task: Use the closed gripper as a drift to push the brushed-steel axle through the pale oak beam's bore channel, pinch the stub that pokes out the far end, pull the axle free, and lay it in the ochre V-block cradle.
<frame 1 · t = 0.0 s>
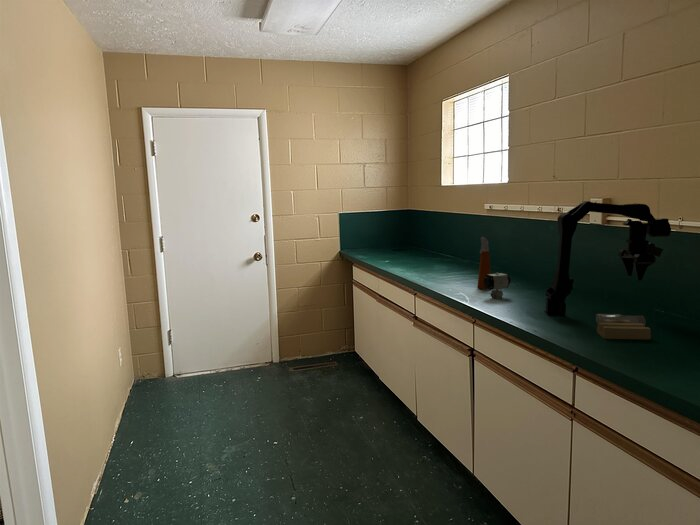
hand: (634, 278, 182), 15 cm above the worktop, fingers open, 9 cm apart
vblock: (622, 335, 160), on the worktop
axle: (621, 321, 171), point 2 cm above the worktop
spray bottle: (483, 289, 240), on the worktop
bore beam: (612, 325, 172), on the worktop
pneumatic valve: (497, 298, 219), on the worktop
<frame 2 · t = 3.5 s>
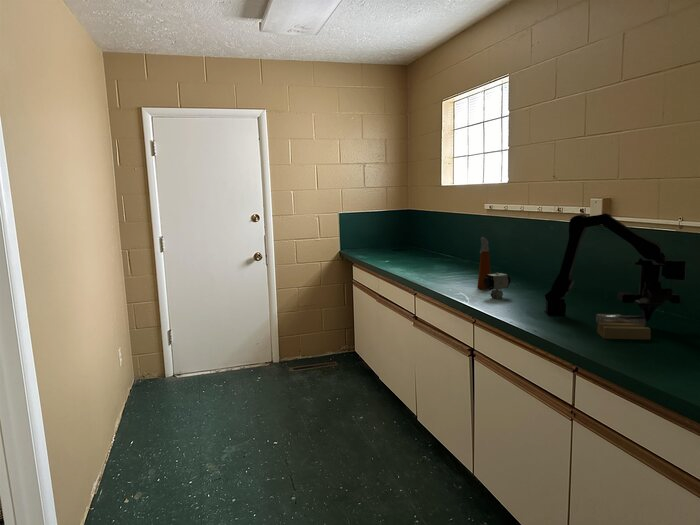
hand: (646, 321, 170), 2 cm above the worktop, fingers closed
axle: (621, 321, 171), point 2 cm above the worktop, tilted 12°, touching gripper
everything else where it was.
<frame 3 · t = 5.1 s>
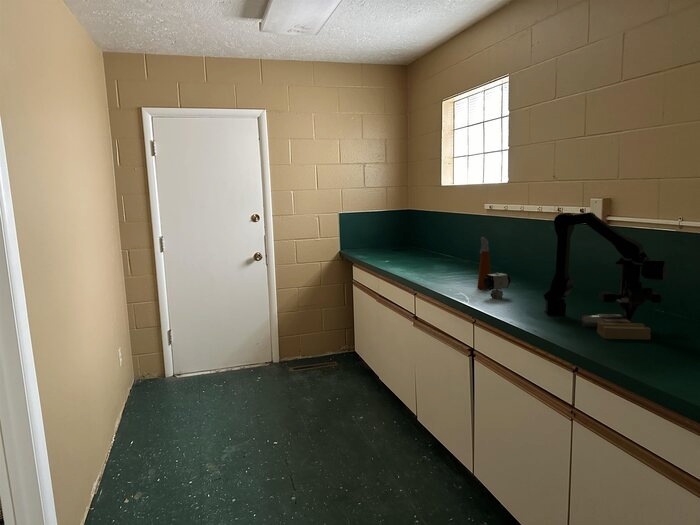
hand: (628, 320, 171), 2 cm above the worktop, fingers closed
axle: (603, 321, 172), point 2 cm above the worktop, tilted 14°
everything else where it was.
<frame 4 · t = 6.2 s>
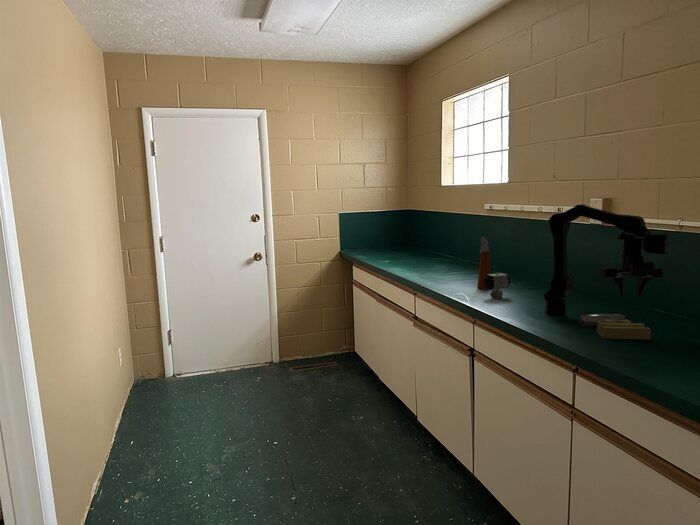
hand: (629, 295, 170), 11 cm above the worktop, fingers open, 5 cm apart
nothing on the worktop moved.
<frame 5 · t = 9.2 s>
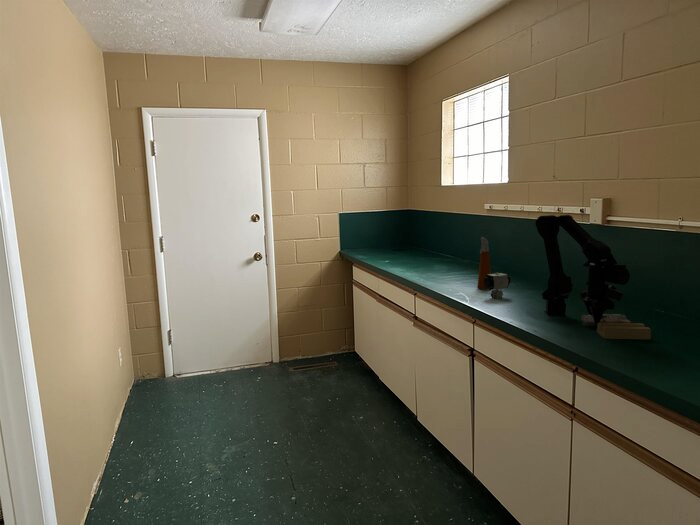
hand: (594, 322, 173), 1 cm above the worktop, fingers closed on axle, 4 cm apart
axle: (603, 320, 172), point 2 cm above the worktop, touching gripper
everything else where it was.
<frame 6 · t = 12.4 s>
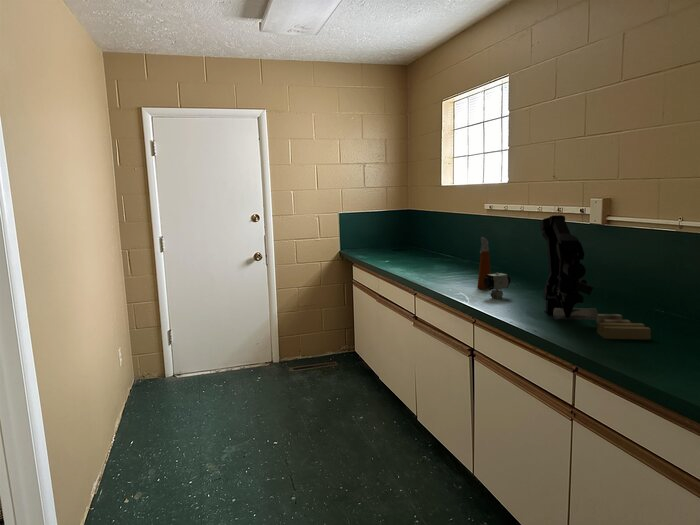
hand: (565, 316, 174), 3 cm above the worktop, fingers closed on axle, 4 cm apart
axle: (575, 313, 173), point 4 cm above the worktop, touching gripper
everything else where it was.
when the fingers open (5 cm above the worktop, at t = 15.8 s): axle drops 2 cm, resting on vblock.
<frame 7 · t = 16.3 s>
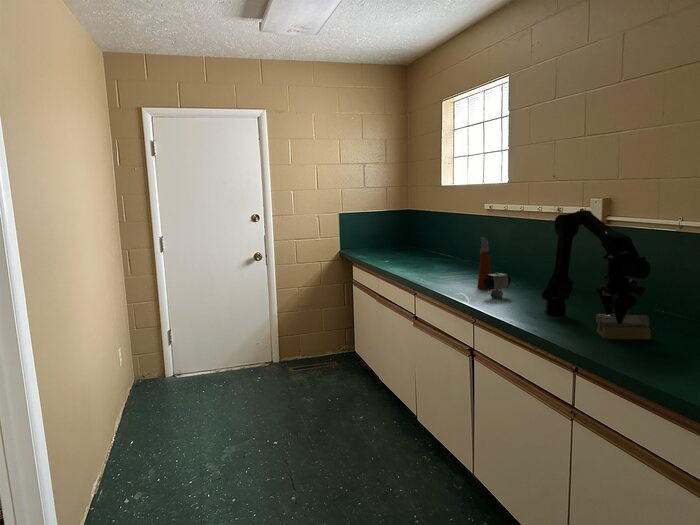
hand: (614, 319, 160), 5 cm above the worktop, fingers open, 9 cm apart
axle: (623, 321, 160), point 5 cm above the worktop, touching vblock
everything else where it was.
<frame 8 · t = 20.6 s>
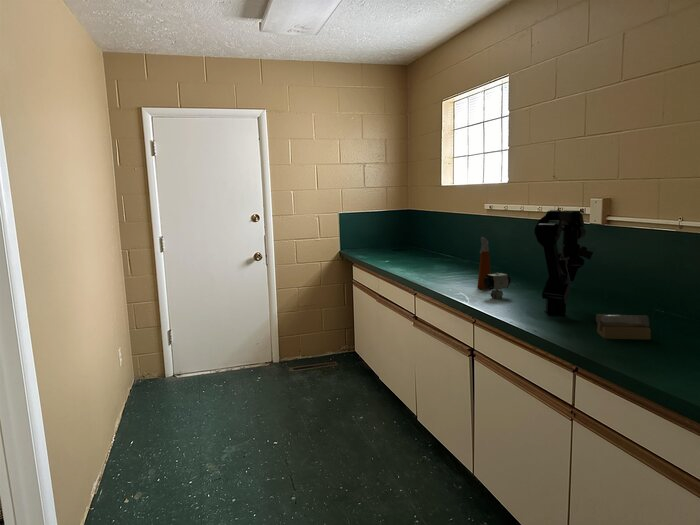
hand: (568, 278, 198), 12 cm above the worktop, fingers open, 9 cm apart
nothing on the worktop moved.
at the end: axle 0.0 cm off-centre on the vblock, point 5.1 cm above the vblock's base; the gripper is holding nothing; axle touching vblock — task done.
